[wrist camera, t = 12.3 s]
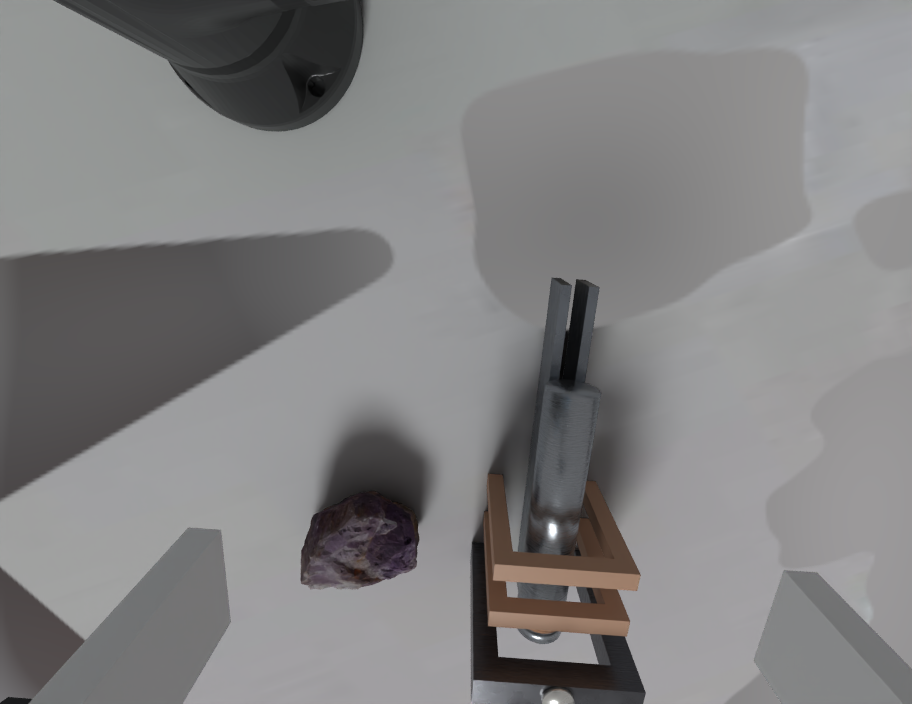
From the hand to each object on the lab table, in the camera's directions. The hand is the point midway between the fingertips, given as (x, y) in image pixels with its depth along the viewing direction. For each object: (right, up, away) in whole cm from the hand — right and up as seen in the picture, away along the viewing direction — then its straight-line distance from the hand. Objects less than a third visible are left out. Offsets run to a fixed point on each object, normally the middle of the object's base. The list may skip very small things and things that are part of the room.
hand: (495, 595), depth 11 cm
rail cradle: (+8, -3, +34) cm, 35 cm away
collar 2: (+8, -12, +36) cm, 39 cm away
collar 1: (+8, -8, +35) cm, 37 cm away
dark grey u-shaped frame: (+7, -16, +38) cm, 42 cm away
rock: (-11, -11, +37) cm, 40 cm away
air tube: (+8, -8, +31) cm, 33 cm away
